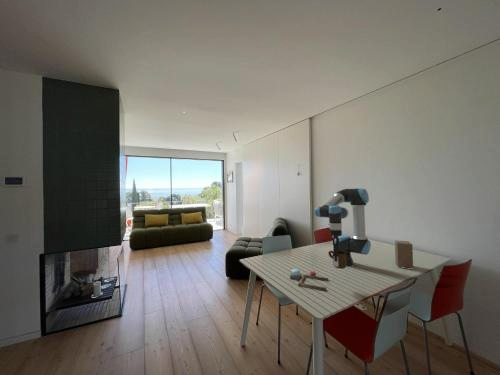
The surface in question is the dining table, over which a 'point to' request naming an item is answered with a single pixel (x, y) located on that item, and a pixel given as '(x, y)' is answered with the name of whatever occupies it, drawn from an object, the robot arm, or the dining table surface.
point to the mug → (339, 259)
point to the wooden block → (403, 254)
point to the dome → (295, 272)
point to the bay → (312, 285)
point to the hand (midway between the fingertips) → (336, 263)
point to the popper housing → (295, 277)
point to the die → (313, 273)
